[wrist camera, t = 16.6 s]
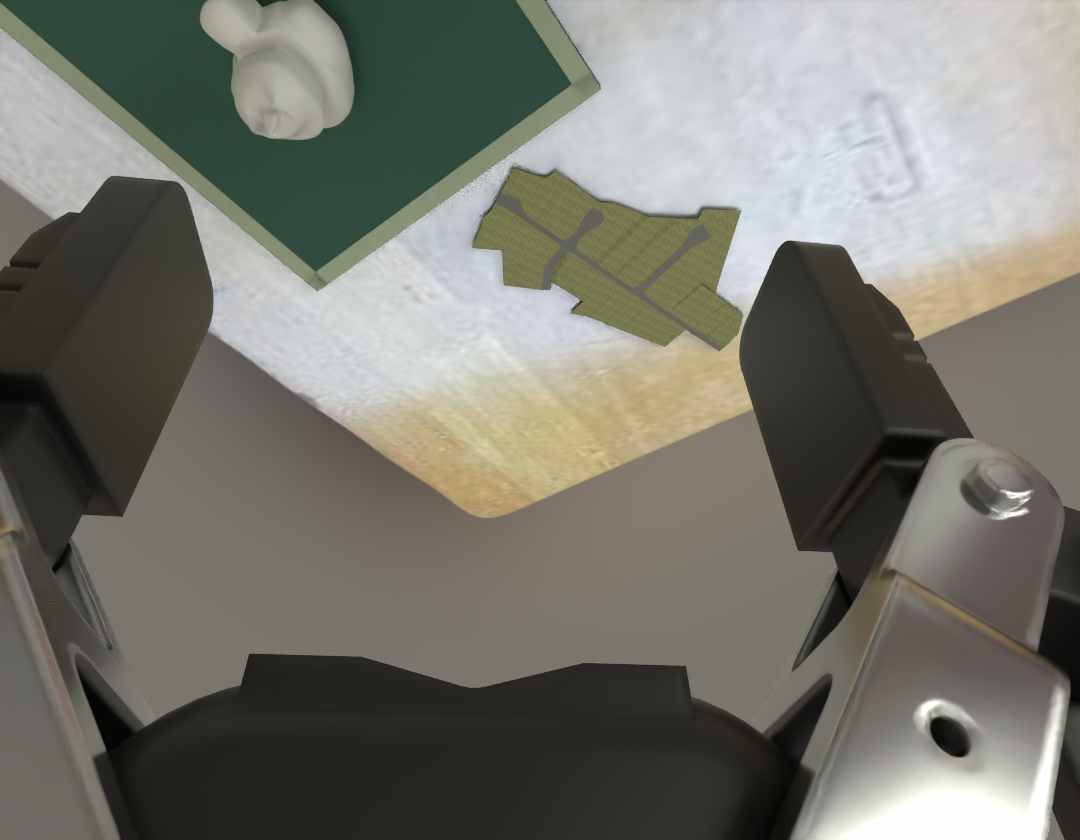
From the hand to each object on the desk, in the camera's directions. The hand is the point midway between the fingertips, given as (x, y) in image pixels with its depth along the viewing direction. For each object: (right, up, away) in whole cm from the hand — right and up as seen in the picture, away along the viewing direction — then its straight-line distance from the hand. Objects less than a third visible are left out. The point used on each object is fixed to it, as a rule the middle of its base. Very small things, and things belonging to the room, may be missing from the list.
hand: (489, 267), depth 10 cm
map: (+6, +7, +31) cm, 32 cm away
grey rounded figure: (-10, +15, +22) cm, 28 cm away
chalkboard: (-10, +15, +22) cm, 28 cm away
